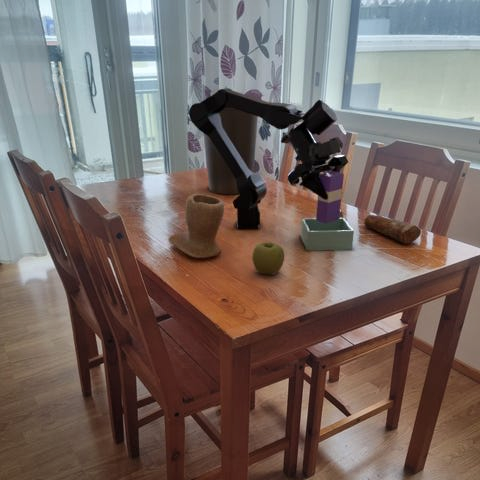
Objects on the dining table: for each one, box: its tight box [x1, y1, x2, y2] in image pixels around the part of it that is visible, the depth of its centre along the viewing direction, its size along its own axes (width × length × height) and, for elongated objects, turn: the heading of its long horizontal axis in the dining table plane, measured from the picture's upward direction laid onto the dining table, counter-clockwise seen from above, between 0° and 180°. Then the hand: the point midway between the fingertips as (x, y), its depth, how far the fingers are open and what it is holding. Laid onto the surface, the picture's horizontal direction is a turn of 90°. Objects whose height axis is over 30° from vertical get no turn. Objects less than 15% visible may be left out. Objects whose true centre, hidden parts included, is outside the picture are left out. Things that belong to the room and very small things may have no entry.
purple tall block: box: [315, 171, 345, 223], centre depth 125 cm, size 4×5×12 cm, turn 131°
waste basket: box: [202, 106, 259, 195], centre depth 176 cm, size 27×20×30 cm
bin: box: [300, 217, 355, 251], centre depth 131 cm, size 12×11×5 cm
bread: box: [363, 214, 422, 244], centre depth 136 cm, size 6×19×6 cm, turn 25°
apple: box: [251, 241, 285, 276], centre depth 113 cm, size 8×8×7 cm
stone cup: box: [168, 193, 225, 259], centre depth 123 cm, size 15×12×15 cm
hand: (333, 196), depth 124 cm, fingers closed on purple tall block, 5 cm apart
